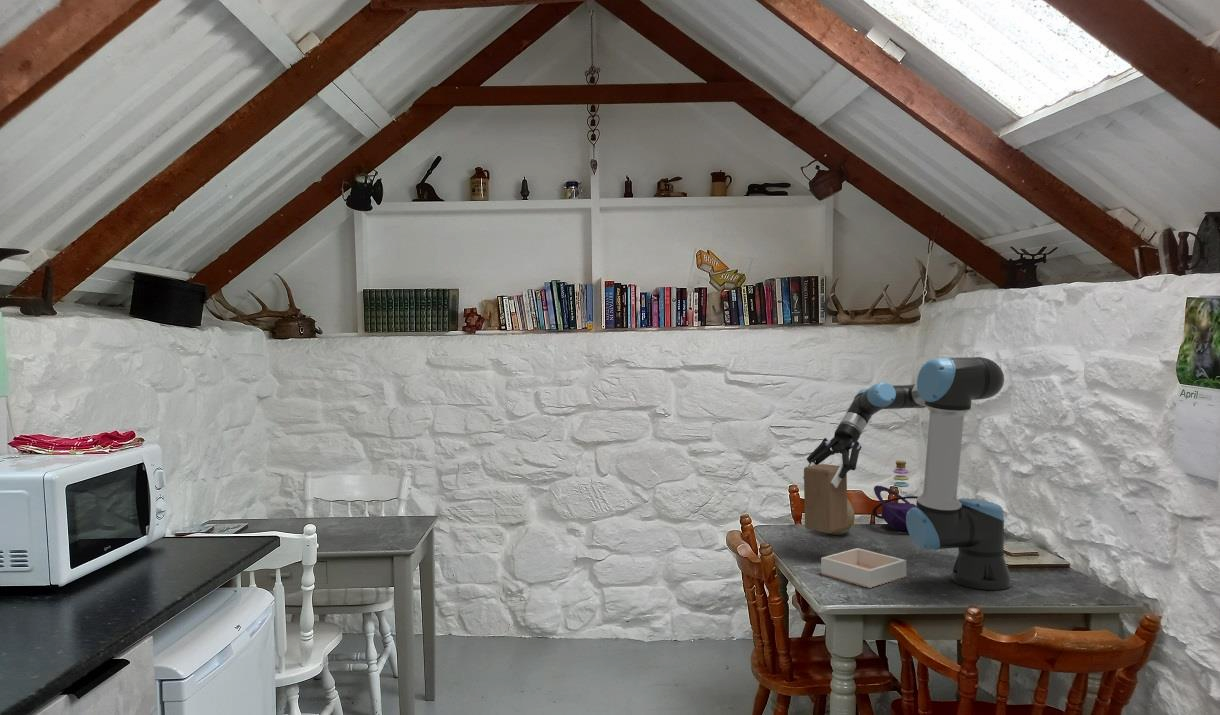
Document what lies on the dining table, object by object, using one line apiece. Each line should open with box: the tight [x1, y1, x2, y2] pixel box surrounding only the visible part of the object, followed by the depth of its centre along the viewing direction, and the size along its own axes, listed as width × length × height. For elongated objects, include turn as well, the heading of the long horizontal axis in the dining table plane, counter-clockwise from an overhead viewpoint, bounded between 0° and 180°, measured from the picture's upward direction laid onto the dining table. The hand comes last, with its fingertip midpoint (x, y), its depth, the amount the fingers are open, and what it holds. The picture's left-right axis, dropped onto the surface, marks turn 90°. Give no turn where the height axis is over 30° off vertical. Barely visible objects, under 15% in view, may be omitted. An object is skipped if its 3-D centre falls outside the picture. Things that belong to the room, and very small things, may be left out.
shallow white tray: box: [820, 547, 907, 589], centre depth 226 cm, size 17×17×5 cm
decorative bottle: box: [871, 459, 919, 532], centre depth 280 cm, size 22×21×25 cm
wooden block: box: [803, 463, 848, 534], centre depth 245 cm, size 10×10×20 cm
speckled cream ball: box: [829, 498, 856, 536], centre depth 275 cm, size 13×13×15 cm
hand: (819, 482), depth 243 cm, fingers closed on wooden block, 10 cm apart
